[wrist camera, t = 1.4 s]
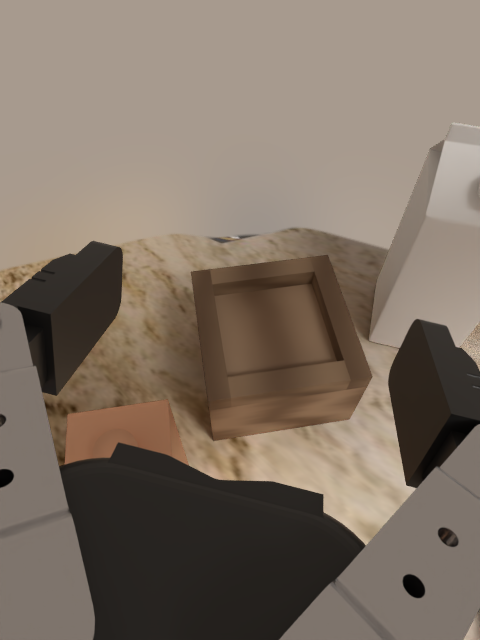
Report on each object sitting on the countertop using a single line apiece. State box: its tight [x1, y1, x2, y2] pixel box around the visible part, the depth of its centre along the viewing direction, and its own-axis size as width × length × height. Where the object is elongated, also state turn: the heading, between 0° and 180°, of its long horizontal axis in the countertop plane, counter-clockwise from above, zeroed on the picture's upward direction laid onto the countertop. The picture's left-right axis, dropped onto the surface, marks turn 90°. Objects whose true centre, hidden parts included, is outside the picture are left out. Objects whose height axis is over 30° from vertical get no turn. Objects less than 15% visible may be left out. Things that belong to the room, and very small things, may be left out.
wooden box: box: [191, 255, 372, 441], centre depth 35 cm, size 11×11×8 cm
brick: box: [65, 399, 189, 465], centre depth 26 cm, size 5×5×14 cm
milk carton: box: [369, 123, 480, 348], centre depth 33 cm, size 7×7×19 cm
